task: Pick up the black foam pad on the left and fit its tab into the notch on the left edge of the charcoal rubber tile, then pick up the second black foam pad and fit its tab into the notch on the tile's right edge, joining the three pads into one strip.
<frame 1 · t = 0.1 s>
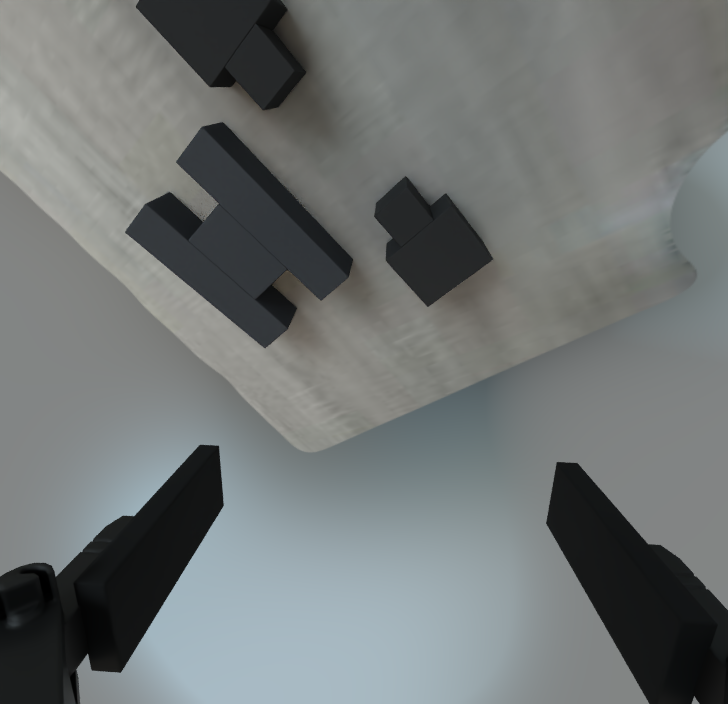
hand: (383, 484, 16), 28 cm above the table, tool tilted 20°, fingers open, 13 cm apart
base tile: (252, 239, 39), on the table
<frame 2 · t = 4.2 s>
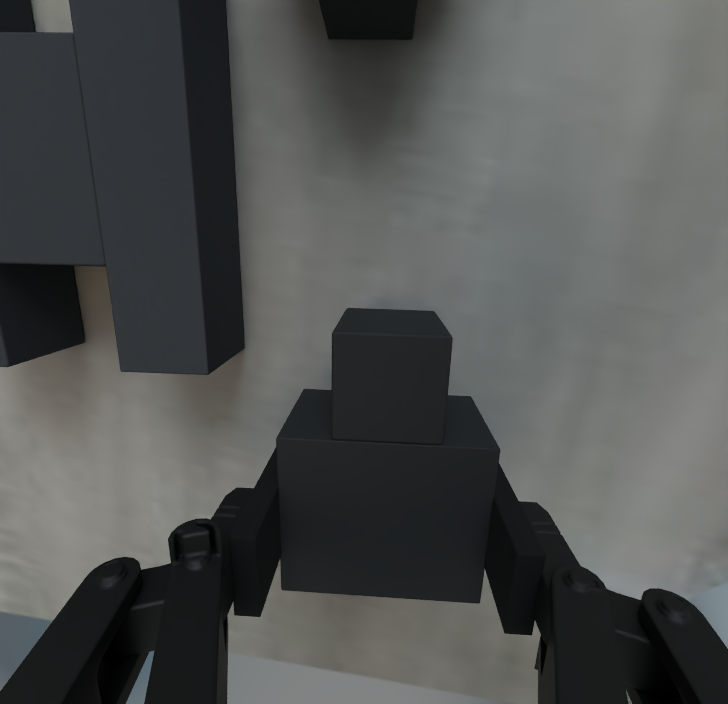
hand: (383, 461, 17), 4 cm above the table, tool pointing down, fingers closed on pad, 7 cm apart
base tile: (108, 176, 18), on the table
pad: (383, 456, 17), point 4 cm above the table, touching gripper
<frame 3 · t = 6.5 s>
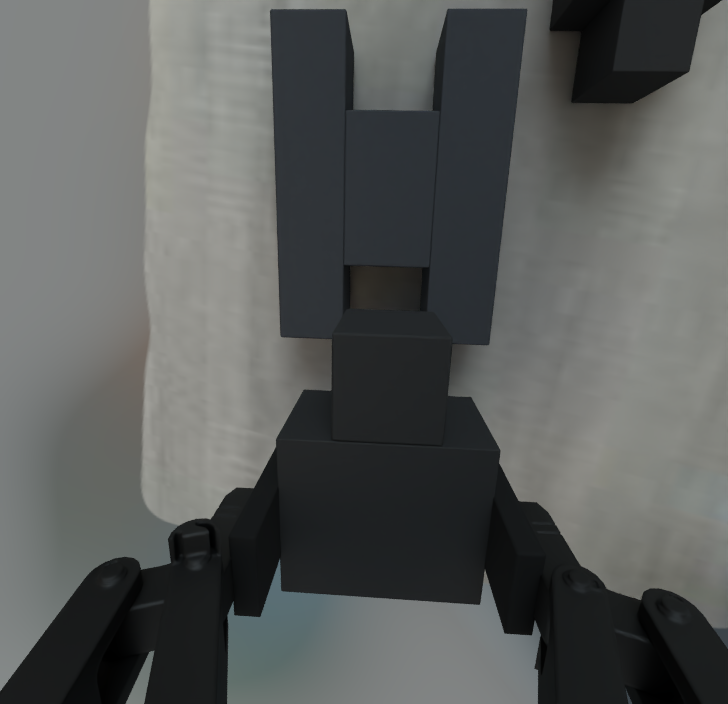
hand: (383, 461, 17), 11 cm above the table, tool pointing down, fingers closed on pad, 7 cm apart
base tile: (389, 200, 25), on the table
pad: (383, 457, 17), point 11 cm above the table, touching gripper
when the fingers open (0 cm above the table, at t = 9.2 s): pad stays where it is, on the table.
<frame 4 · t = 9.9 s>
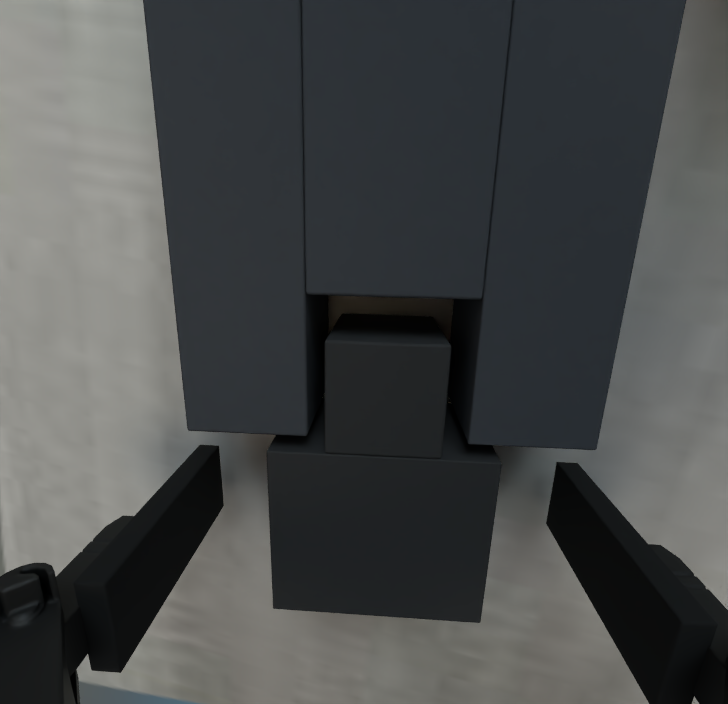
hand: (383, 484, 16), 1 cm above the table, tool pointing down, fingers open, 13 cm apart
base tile: (395, 170, 14), on the table
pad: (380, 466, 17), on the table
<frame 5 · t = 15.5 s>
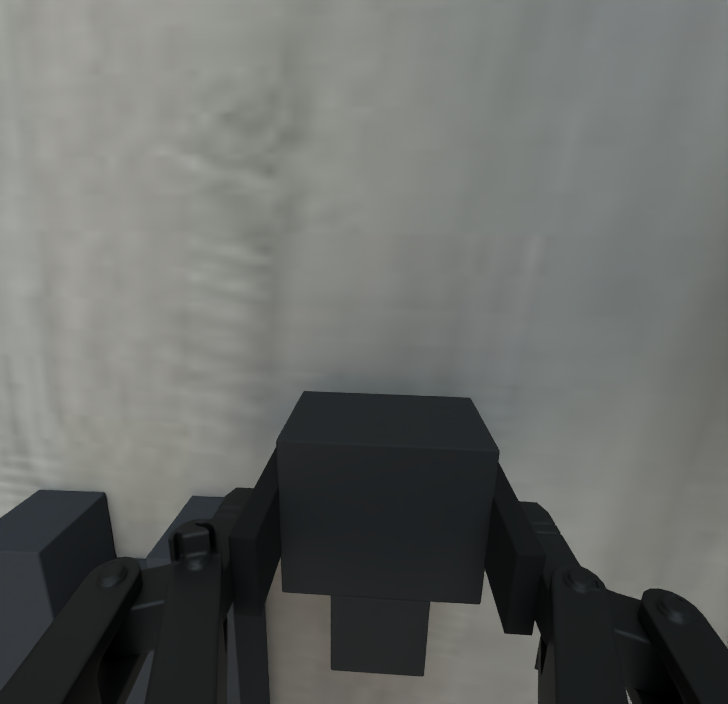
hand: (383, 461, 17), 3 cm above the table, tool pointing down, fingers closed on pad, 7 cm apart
base tile: (164, 612, 23), on the table
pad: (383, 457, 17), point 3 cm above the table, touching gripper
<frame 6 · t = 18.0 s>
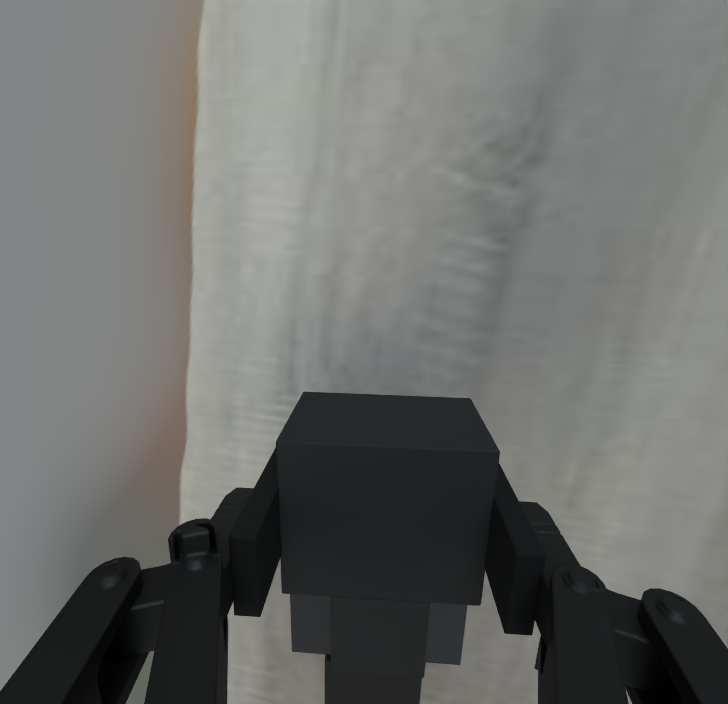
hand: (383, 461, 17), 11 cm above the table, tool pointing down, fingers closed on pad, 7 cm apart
base tile: (380, 521, 30), on the table
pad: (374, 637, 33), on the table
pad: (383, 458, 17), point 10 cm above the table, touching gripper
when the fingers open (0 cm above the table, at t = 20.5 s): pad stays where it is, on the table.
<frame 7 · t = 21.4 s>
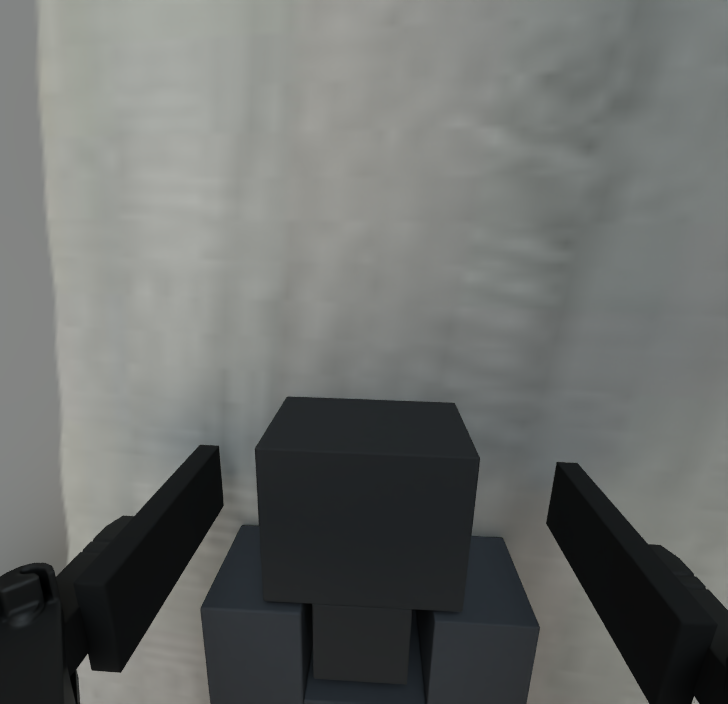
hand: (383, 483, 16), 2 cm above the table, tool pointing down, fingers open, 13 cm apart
base tile: (366, 663, 20), on the table
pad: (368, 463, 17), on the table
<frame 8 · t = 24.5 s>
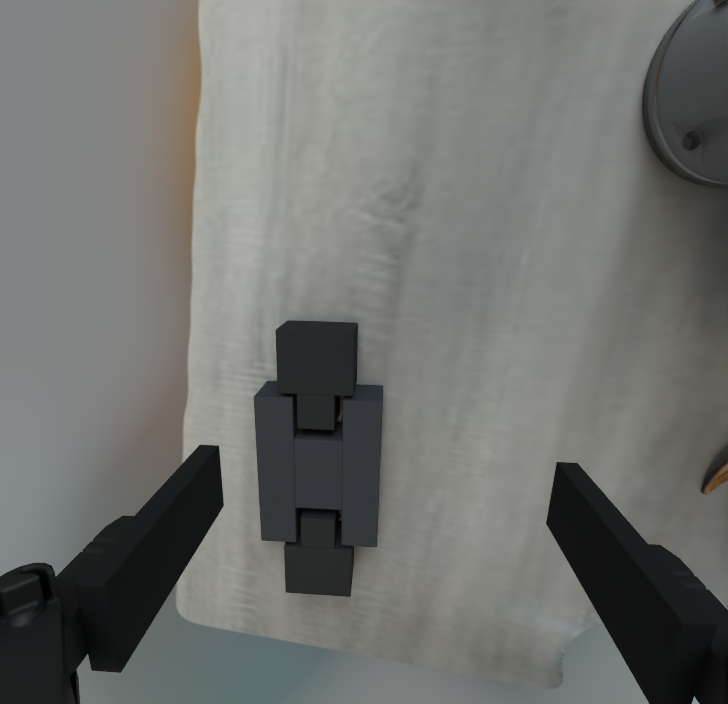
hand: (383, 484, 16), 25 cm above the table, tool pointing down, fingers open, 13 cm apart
base tile: (324, 452, 43), on the table
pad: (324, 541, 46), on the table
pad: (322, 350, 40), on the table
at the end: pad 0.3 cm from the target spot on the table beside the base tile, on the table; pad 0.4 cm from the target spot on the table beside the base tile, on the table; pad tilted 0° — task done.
